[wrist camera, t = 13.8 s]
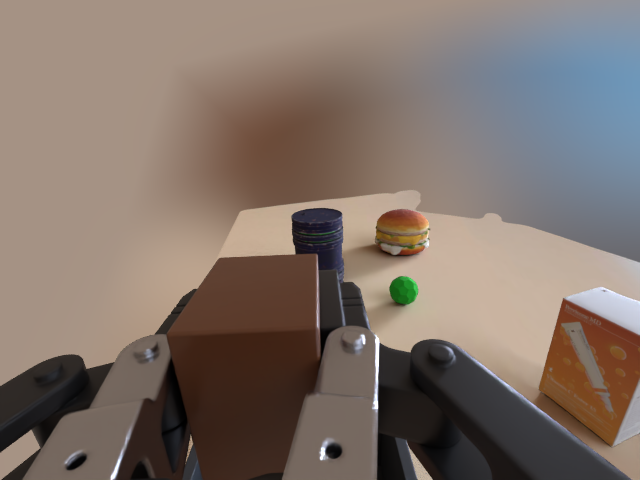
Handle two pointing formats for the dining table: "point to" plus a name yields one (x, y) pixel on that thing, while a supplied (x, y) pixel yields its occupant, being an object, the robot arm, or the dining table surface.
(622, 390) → the small box
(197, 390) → the chocolate carton
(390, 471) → the waste bin
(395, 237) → the burger
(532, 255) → the dining table surface
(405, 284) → the polyhedron
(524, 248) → the dining table surface
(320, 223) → the navy striped cylinder
